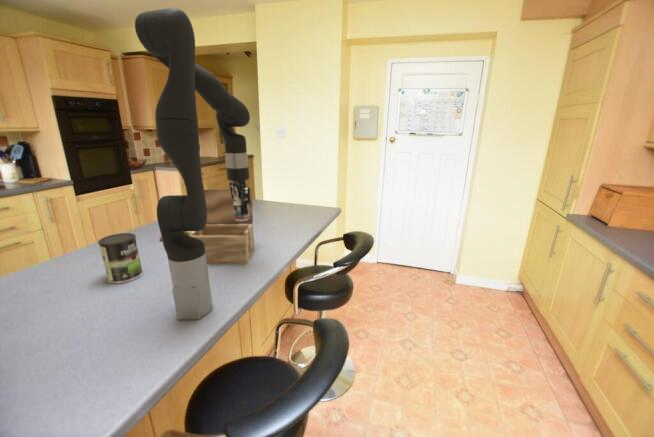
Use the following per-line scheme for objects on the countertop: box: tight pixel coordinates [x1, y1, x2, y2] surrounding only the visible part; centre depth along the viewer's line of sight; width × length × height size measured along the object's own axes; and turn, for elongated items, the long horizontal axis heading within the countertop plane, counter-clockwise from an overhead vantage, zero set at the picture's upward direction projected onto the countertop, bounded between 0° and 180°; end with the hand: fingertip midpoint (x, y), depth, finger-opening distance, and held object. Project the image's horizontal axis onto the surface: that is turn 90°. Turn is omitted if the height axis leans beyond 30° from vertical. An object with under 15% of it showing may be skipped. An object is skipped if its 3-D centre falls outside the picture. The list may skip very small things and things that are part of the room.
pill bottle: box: [233, 195, 250, 221], centre depth 109 cm, size 5×5×9 cm
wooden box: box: [189, 224, 255, 265], centre depth 118 cm, size 14×21×11 cm, turn 91°
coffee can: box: [97, 232, 144, 284], centre depth 102 cm, size 10×10×14 cm
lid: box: [204, 189, 254, 224], centre depth 123 cm, size 14×21×2 cm
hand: (241, 212), depth 110 cm, fingers closed on pill bottle, 5 cm apart
